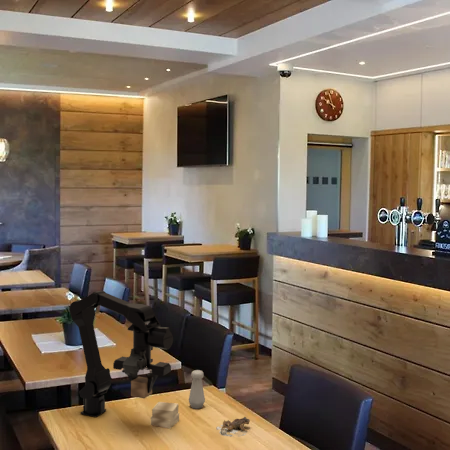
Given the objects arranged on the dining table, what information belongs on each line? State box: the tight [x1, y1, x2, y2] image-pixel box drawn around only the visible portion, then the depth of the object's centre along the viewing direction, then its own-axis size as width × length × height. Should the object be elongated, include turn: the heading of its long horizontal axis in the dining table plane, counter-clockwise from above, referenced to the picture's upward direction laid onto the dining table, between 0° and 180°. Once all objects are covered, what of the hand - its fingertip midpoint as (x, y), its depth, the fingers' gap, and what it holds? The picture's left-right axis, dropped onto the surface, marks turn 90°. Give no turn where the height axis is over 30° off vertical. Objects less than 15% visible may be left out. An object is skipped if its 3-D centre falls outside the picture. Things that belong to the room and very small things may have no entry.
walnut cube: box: [130, 376, 153, 399], centre depth 200 cm, size 5×5×5 cm
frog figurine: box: [216, 416, 251, 437], centre depth 200 cm, size 12×12×4 cm
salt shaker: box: [188, 369, 206, 410], centre depth 218 cm, size 6×6×13 cm
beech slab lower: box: [150, 412, 180, 429], centre depth 203 cm, size 7×7×3 cm
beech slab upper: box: [151, 401, 179, 420], centre depth 203 cm, size 7×7×3 cm
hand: (141, 391), depth 200 cm, fingers closed on walnut cube, 5 cm apart
